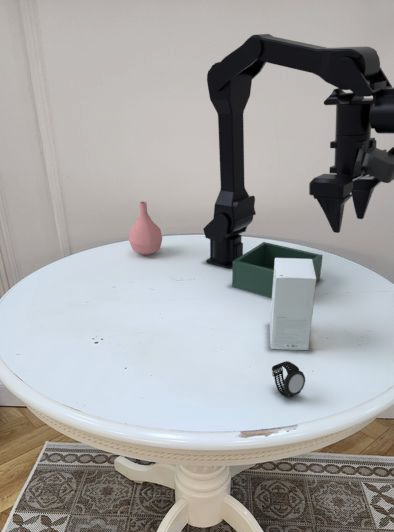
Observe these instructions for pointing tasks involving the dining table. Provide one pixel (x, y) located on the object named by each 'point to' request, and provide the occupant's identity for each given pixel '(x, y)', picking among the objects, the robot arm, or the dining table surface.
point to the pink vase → (145, 233)
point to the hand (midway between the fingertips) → (348, 225)
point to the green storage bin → (266, 267)
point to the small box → (292, 303)
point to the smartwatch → (288, 379)
